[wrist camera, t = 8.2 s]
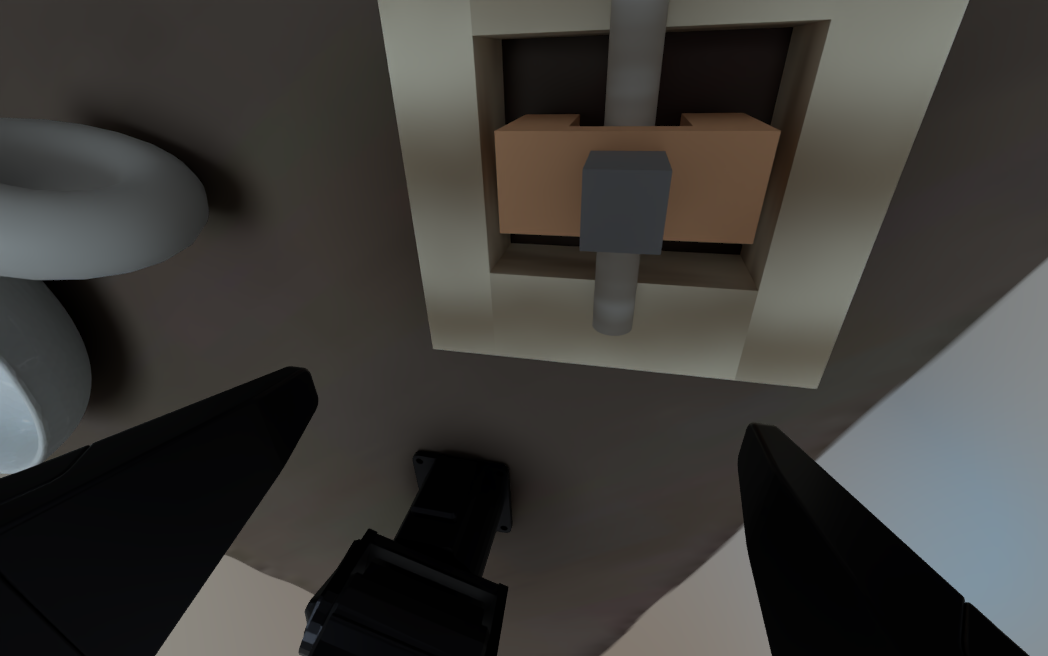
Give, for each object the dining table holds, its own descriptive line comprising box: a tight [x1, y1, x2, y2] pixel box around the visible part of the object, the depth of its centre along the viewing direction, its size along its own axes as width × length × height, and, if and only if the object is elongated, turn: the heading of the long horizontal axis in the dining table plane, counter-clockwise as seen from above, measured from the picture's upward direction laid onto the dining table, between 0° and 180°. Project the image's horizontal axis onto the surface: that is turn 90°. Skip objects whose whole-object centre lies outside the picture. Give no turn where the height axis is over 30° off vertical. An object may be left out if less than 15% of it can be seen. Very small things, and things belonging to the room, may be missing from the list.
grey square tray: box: [378, 0, 969, 389], centre depth 16 cm, size 16×16×5 cm
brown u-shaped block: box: [494, 113, 781, 255], centre depth 14 cm, size 3×8×7 cm, turn 92°
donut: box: [0, 118, 209, 280], centre depth 19 cm, size 10×4×10 cm, turn 71°
